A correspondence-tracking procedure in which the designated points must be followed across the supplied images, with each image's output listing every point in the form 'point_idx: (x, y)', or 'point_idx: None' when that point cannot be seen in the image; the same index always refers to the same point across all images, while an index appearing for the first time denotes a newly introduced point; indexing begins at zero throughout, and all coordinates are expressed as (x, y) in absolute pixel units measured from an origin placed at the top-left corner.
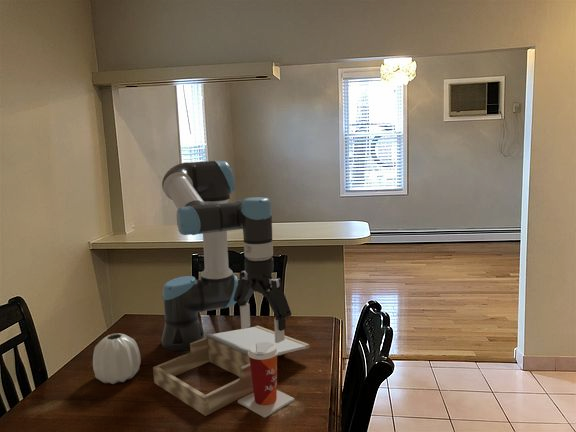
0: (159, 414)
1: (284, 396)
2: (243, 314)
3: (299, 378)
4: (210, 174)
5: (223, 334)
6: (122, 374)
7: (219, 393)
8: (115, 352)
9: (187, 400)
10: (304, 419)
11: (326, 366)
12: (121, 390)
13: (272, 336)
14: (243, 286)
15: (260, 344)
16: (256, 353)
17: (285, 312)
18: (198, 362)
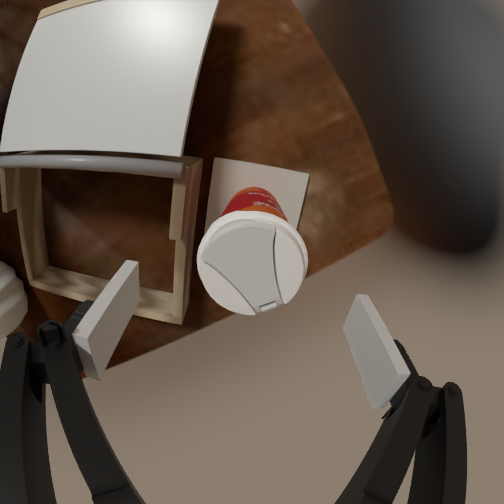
0: (129, 328)
1: (284, 179)
2: (114, 340)
3: (261, 82)
4: None
5: (12, 126)
6: (23, 306)
7: (184, 291)
8: (1, 331)
9: None
10: (359, 223)
11: (287, 6)
12: (42, 306)
13: (101, 14)
14: (37, 462)
15: (225, 257)
16: (258, 311)
17: (438, 412)
18: (36, 185)
